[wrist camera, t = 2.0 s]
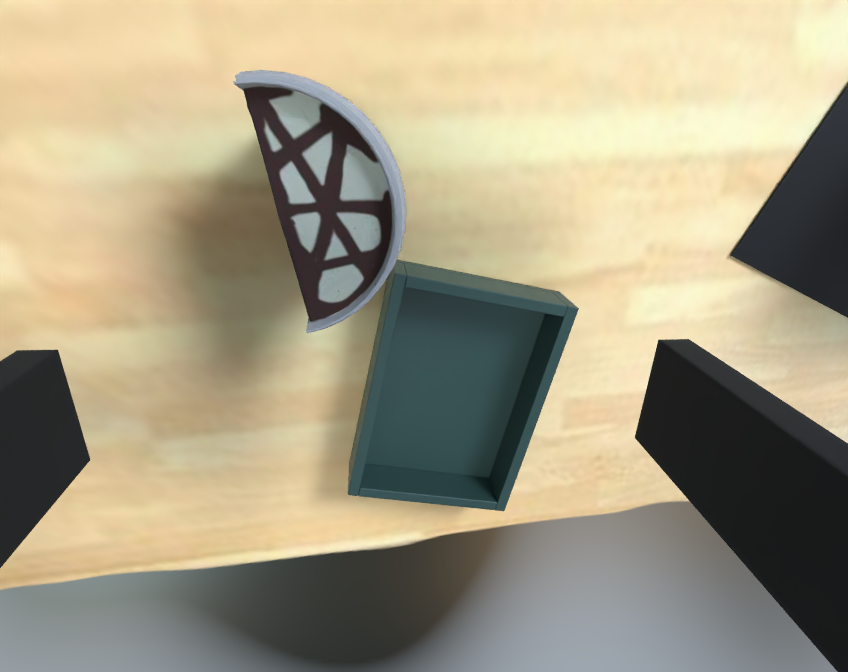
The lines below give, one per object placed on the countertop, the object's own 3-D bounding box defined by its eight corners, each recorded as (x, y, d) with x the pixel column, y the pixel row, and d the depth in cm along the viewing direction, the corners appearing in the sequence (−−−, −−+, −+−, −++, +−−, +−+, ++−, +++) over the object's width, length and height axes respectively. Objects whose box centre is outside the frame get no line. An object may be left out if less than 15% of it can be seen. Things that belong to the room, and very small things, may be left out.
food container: (411, 266, 34) (429, 319, 24) (324, 283, 33) (309, 342, 24) (375, 67, 29) (380, 39, 19) (272, 86, 28) (228, 66, 19)
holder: (348, 464, 40) (347, 495, 36) (391, 258, 33) (394, 272, 30) (493, 481, 42) (504, 511, 39) (559, 291, 36) (579, 308, 32)
